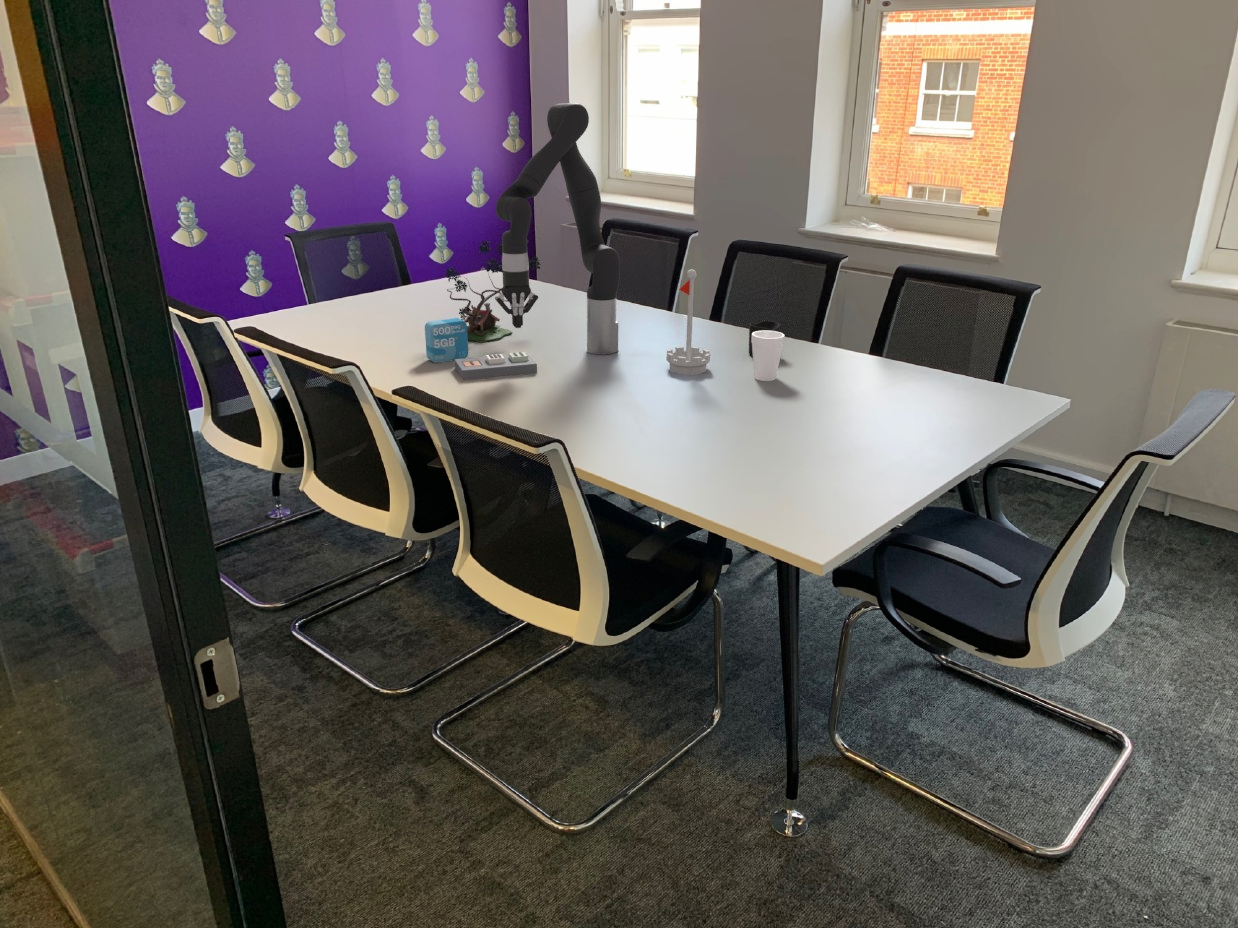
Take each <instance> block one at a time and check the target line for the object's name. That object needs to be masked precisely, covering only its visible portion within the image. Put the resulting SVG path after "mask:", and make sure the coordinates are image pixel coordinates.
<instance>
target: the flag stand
mask: <svg viewBox="0 0 1238 928" xmlns="http://www.w3.org/2000/svg"><path fill="white" fill-rule="evenodd" d="M697 276H698V274H697V271H696V270H695V269H693V268H691V269H689V270H687V272H686V277H687V279H688V281H686V282H685V283H684V284H683V285H682V286H681V287H680V288H679V289H678V290H679V291H680V292H683V293H684V294H686V295H688V296H687V319H686V345H685V346H676V347H675V350H673V348H669V349H667V350H666V361H667V362H668V363H669V371H670V372H672V373H673V374H679V375H685V376H686V375H687V376H693V375H694V376H695V375H701V374H704V373H705V372H706V371H707V365H708V364H709V363H710V361H711V353H710V350H709V349H702V351H700V347H697V346H692V338H693V337H692V335H693V315H694V311H693V309H694V292H695V291H694V290H695V287H694V286H695V279H696V278H697ZM684 347H685V348H684Z"/></svg>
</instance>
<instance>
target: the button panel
mask: <svg viewBox="0 0 1238 928" xmlns="http://www.w3.org/2000/svg"><path fill="white" fill-rule="evenodd" d="M525 353H526V354H527V355H528V361H523V362H511V361H510V360H509V354H502V355H503V357H504V358H505V363H501V364H490V365H489V364H488V363H487V362H486V356H478V357H466V358H463V359H454V370H455V371H456V373H457V374H458V375H459V377H460V379H461V380H462V381H470V380H471V381H472V380H483V379H484V380H485V379H493V378H494V379H495V378H503V377H504V378H505V377H514V376H515V377H516V376H523V375H524V376H525V375H535V374H538V364H537V362H536V361H535V360H534V359H533V358H532V357H531V356H530V355H529V354H528V353H527V352H525ZM470 361H479V363H480V364H481V365H479V366H468V367H465V366H464V365H463V362H470Z"/></svg>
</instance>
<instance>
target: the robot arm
mask: <svg viewBox="0 0 1238 928" xmlns="http://www.w3.org/2000/svg"><path fill="white" fill-rule="evenodd" d="M546 115H547V117H546V119H547V120H546V121H547V122H546V123H547V127H548V128H547V129H548V132H549V134H550V137H551V138H550V140H549V141H548V142H547V143H546V144H545V145H544V146H543V147H542V148H541V149H540V150H538V151H537V152H536V153H535V154H534V155H533V156H532V157H531V158H530V159H529V160H528V162H527V163H526V165H525V166H524V167H523V169H522V171H521V172H520V174H519V175H518V177H517V178H516V180H515V181H514V182H513V183H511V185H509V186H508V188H506V189H505V190H504V191H503V192H502V194H501V195H500V196H499V197H498V199H497V201H496V203H495V213H496V216H497V217H498V218H499V219H500V220H501V221H503V222H509V223H510V227H509V228H510V229H509V230H506V231H504V232H503V233H502V236H501V240H502V241H501V243H502V248H501V249H502V252H503V254H502V257H501V264H502V271H501V272H502V288H503V289H502V291H501V294H500V293H499V295H497V296H495V297H494V300H495V301H496V302H497V303H498V305H499V306H500V307H501V308H502V309H503V310H504V311H505V313H506V314H507V315H511V321H512V322H511V323H512V326H513V327H514V328H515V329H521V328H522V326H523V325H524V317H523V316H524V314H527V313H529V312H530V310H531V309H532V308H533V307H534V304H535V303H537V300H538V299H539V295H537V294H536V293H534V292H532V288H531V287H530V271H529V270H530V269H529V268H530V267H529V265H530V264H529V262H528V260H529V255H528V239H527V238H528V234H529V230H530V226H531V220H532V206H531V204H530V201H529V200H528V199H531V198H535V197H537V195H538V194H539V193H540V191H541V190H542V188H543V187H544V185H545V183H546V182H547V180H548V178H549V176H550V175H551V174H552V173H553V171H554V169H555V168H556V167H557V166H558V164H559V163H560V167H561V170H562V175H563V178H564V182H565V186H566V190H567V194H568V198H569V203H570V206H571V209H572V210H571V211H572V214H573V218H574V222H575V226H576V228H577V232H578V233H577V234H578V237H579V243H580V244H579V245H580V252H581V259H582V262H583V266H584V268H585V269H586V271H588V272H589V273H591V274H592V283H591V286H589V287H588V288H587V290H586V351H587V352H588V353H590V354H593V355H610V354H614V353H618V352H619V322H618V321H617V295H618V291H619V288H620V278H621V277H620V276H621V274H620V273H621V259H620V255H619V253H618V252H617V250H616V249H615V248H612V247H610V246H607V245H606V244H605V240H604V238H603V235H602V230H601V225H600V218H601V210H602V198H601V193H600V189H599V183H598V181H597V178H596V176H595V175H596V174H595V173H594V172H593V170H592V168H590V166H589V165H588V163H587V162H586V160H585V159H584V157H583V155H582V154H581V152H580V150H579V147H578V144H577V142H578V140H579V139H581V137H582V136H583V135H584V133H585V132H586V131H587V129H588V126H589V123H590V117H589V112H588V109H586V107H585V106H584V105H582V104H581V103H578V102H565V103H564V102H563V103H555V104H553V105H551V107H550V108H549V109H548V112H547V114H546ZM505 299H506V300H508V303H509V306H507V305H506V303H505V301H504V300H505ZM527 299H528V300H527ZM526 301H527V302H526ZM525 302H526V303H525ZM509 307H510V308H509Z"/></svg>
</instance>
